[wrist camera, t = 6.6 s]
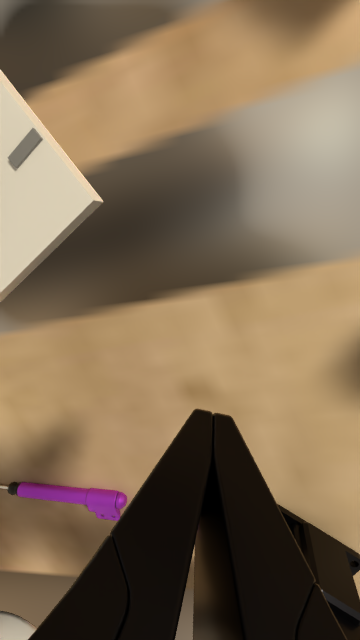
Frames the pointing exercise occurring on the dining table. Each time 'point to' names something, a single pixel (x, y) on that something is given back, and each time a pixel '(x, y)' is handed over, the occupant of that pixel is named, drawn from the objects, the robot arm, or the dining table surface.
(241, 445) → the robot arm
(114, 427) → the dining table surface
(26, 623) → the milk bottle
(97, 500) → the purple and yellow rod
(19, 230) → the plate
